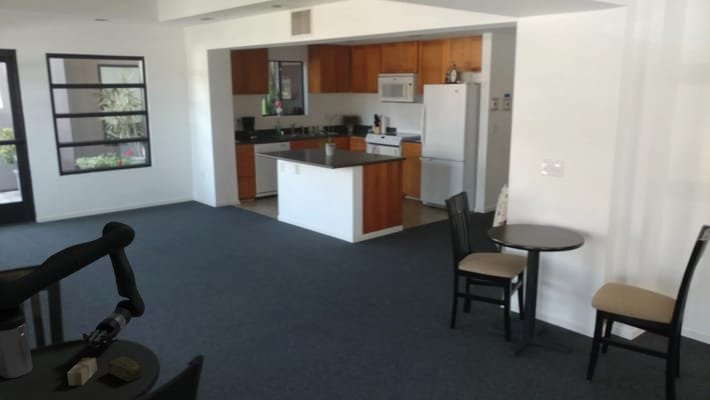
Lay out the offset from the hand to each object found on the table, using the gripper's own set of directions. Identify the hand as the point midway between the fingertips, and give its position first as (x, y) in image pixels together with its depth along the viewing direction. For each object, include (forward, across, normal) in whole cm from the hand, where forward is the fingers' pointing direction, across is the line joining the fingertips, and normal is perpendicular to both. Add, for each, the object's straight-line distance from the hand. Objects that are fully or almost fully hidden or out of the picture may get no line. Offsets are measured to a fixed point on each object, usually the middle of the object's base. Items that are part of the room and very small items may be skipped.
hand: (87, 349), depth 189 cm
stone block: (+3, +14, +8) cm, 16 cm away
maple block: (-1, 0, +6) cm, 6 cm away
